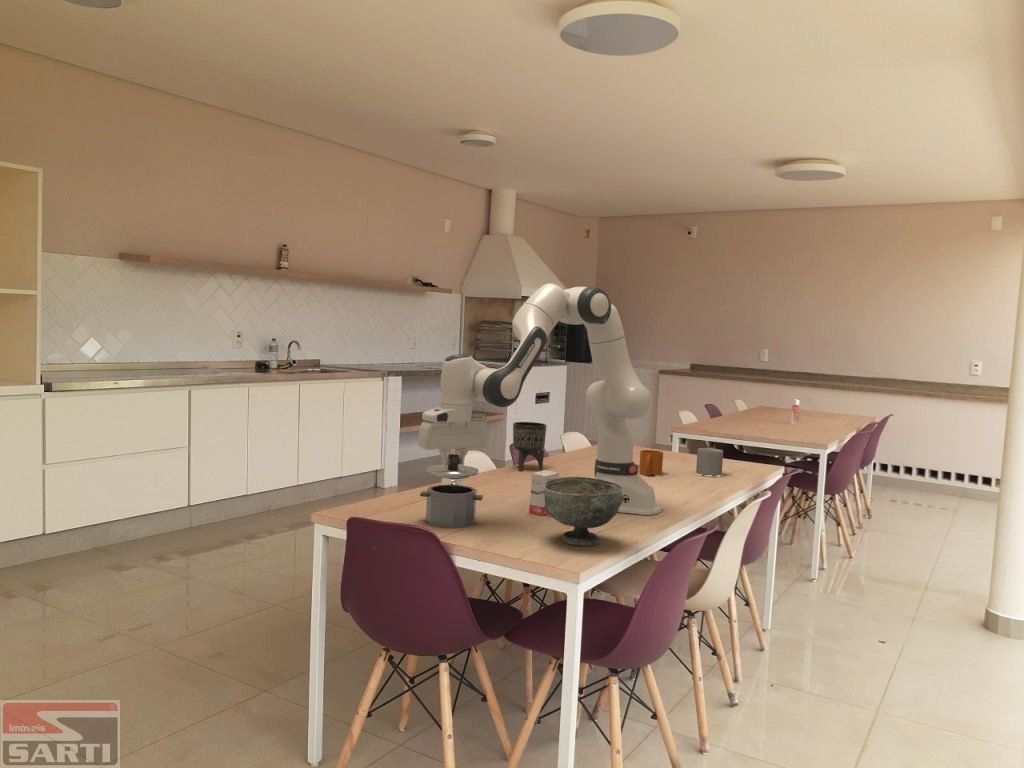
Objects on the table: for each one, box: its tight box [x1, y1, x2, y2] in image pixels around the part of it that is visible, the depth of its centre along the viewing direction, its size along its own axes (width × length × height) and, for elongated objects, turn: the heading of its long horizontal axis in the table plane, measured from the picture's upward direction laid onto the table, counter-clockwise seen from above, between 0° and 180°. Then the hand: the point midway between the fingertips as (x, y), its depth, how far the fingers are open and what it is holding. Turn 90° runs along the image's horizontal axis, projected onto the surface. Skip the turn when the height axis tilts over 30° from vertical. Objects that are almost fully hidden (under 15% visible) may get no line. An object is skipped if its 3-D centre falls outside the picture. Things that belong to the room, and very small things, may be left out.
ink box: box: [528, 469, 560, 516], centre depth 232 cm, size 9×5×12 cm, turn 148°
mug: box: [638, 449, 664, 477], centre depth 307 cm, size 9×12×9 cm
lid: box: [426, 454, 480, 480], centre depth 214 cm, size 14×14×6 cm
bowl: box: [544, 476, 623, 547], centre depth 201 cm, size 20×19×15 cm
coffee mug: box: [695, 447, 724, 476], centre depth 314 cm, size 13×10×10 cm
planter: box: [512, 421, 547, 472], centre depth 305 cm, size 13×13×18 cm
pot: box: [419, 484, 484, 529], centre depth 215 cm, size 17×13×9 cm
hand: (452, 464), depth 214 cm, fingers closed on lid, 3 cm apart
